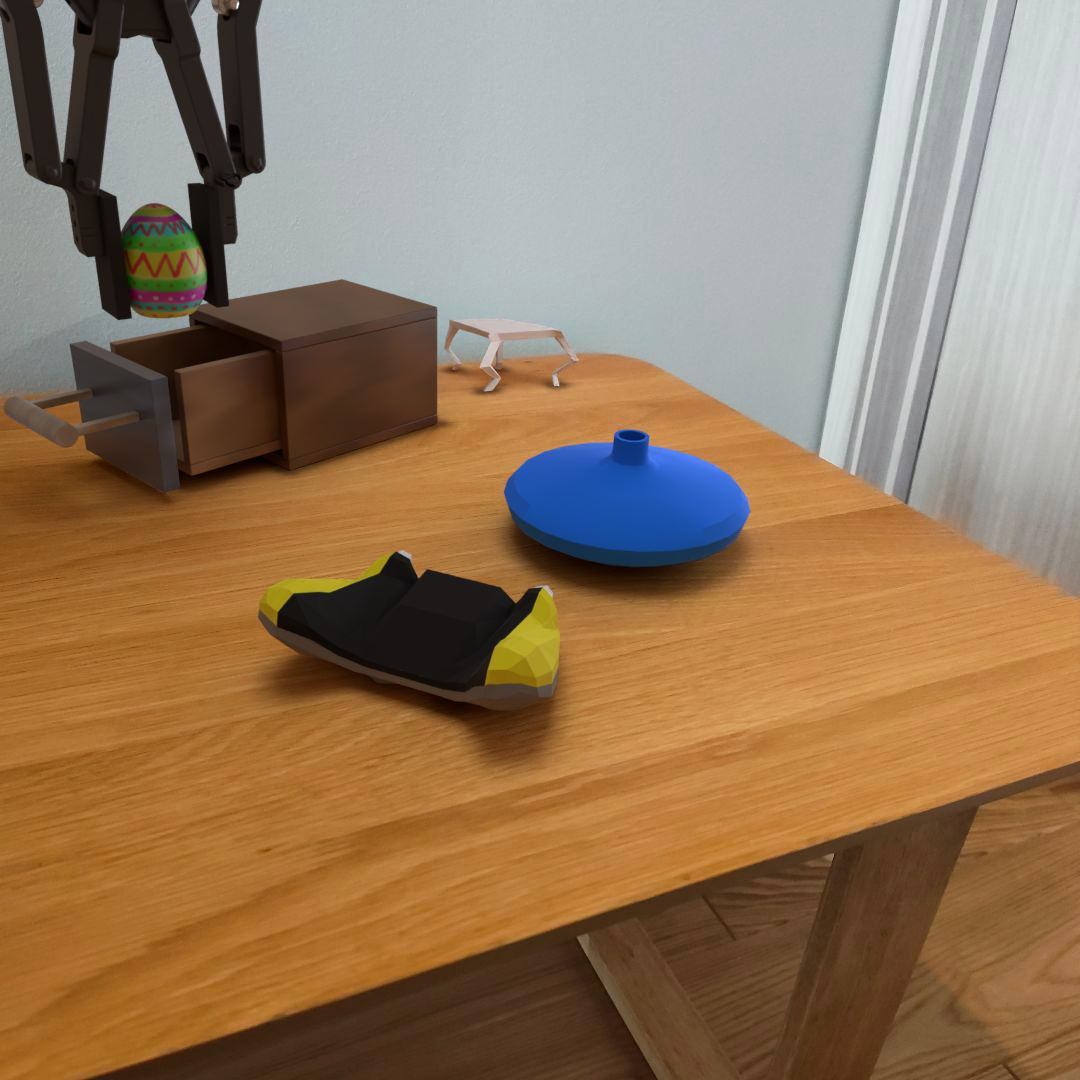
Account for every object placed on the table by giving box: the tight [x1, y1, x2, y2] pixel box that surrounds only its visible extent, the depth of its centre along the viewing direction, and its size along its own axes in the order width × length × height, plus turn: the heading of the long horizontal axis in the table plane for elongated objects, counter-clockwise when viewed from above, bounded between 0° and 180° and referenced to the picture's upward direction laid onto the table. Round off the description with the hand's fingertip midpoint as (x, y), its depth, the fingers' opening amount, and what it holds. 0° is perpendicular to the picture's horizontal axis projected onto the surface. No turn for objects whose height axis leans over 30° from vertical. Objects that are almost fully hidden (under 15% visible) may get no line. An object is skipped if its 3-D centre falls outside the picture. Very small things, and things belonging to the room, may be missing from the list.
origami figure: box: [443, 317, 580, 392], centre depth 96 cm, size 12×8×5 cm
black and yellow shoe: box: [257, 549, 561, 711], centre depth 53 cm, size 15×6×10 cm
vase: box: [503, 428, 751, 568], centre depth 68 cm, size 16×16×7 cm
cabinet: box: [188, 278, 438, 471], centre depth 83 cm, size 15×12×10 cm
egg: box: [121, 202, 207, 319], centre depth 60 cm, size 5×5×6 cm
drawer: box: [3, 324, 282, 494], centre depth 74 cm, size 19×10×8 cm, turn 138°
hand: (166, 306), depth 61 cm, fingers closed on egg, 5 cm apart
